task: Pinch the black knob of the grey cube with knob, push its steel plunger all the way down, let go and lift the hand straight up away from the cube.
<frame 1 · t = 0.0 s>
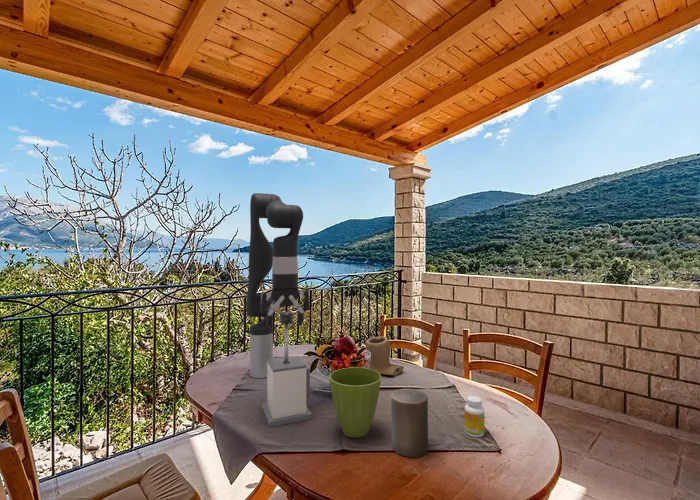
hand: (285, 326, 105), 29 cm above the table, tool pointing down, fingers open, 8 cm apart
pottery mug: (343, 384, 137), on the table
flower pot: (355, 431, 102), on the table
pillar candle: (409, 447, 94), on the table
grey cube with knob: (286, 413, 112), on the table
plunger: (286, 342, 112), point 23 cm above the table, slide at 0.0 cm
supplement bottle: (474, 433, 101), on the table
tan boot: (382, 373, 148), on the table
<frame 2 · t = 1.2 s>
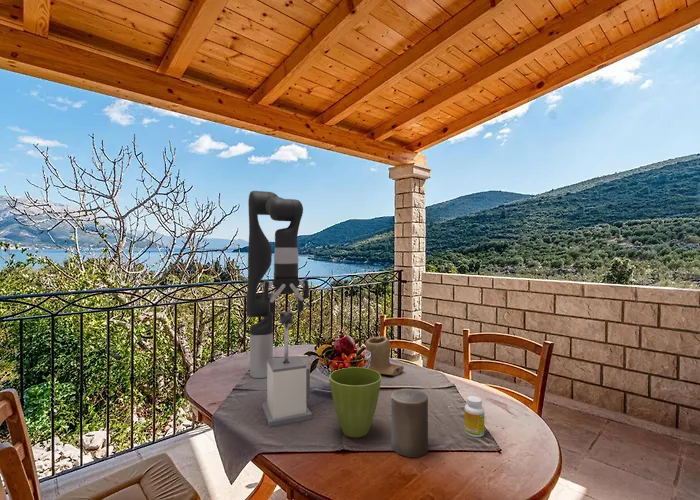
hand: (286, 313, 112), 32 cm above the table, tool pointing down, fingers open, 8 cm apart
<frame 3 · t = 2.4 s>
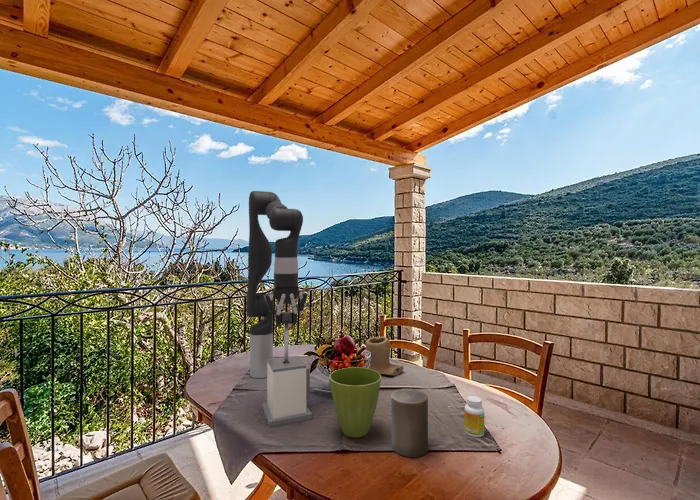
hand: (286, 325, 112), 28 cm above the table, tool pointing down, fingers closed on plunger, 4 cm apart
plunger: (286, 342, 112), point 23 cm above the table, slide at 0.0 cm, touching gripper
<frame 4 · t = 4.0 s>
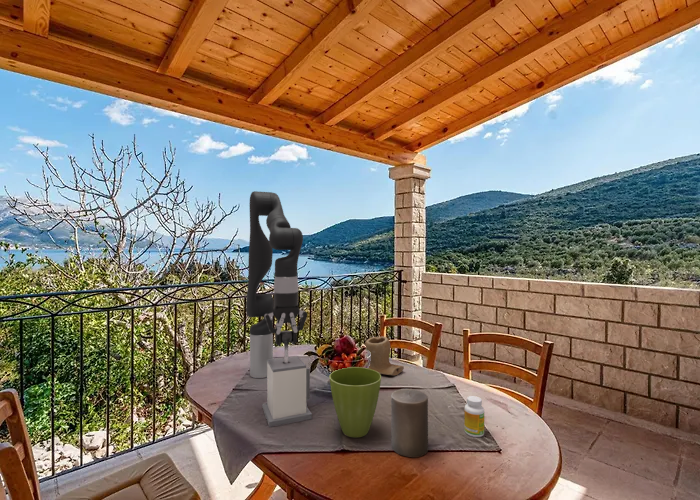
hand: (286, 344, 112), 22 cm above the table, tool pointing down, fingers closed on plunger, 4 cm apart
plunger: (286, 361, 112), point 17 cm above the table, slide at 6.0 cm, touching gripper
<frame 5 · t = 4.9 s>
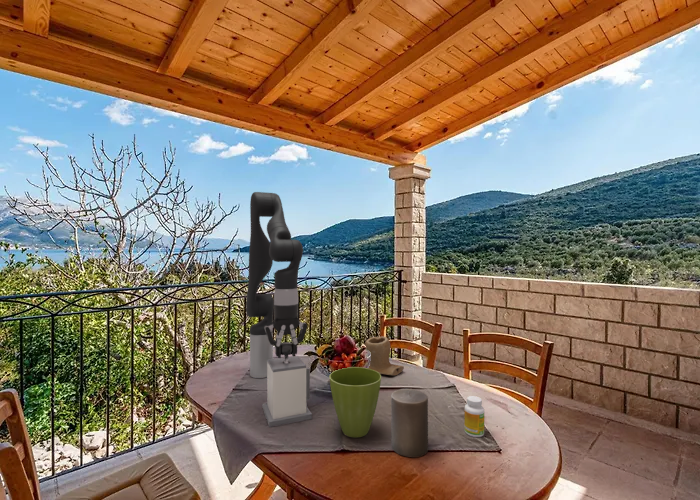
hand: (286, 356, 112), 18 cm above the table, tool pointing down, fingers closed on plunger, 4 cm apart
plunger: (286, 373, 112), point 13 cm above the table, slide at 9.8 cm, touching gripper
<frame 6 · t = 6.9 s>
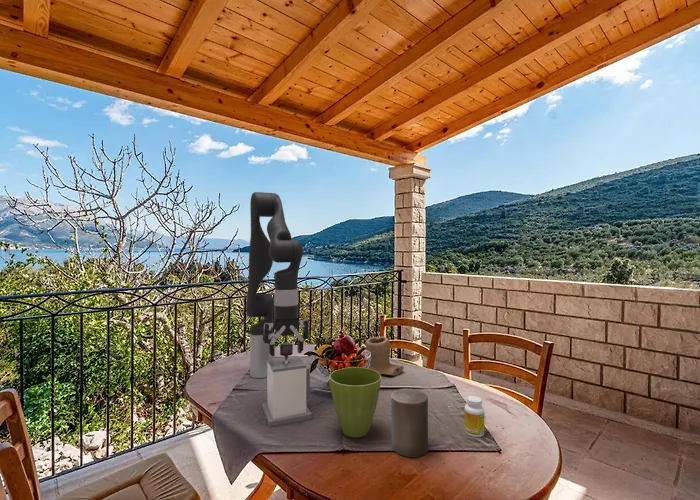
hand: (286, 354, 112), 19 cm above the table, tool pointing down, fingers open, 8 cm apart
plunger: (286, 374, 112), point 13 cm above the table, slide at 10.0 cm
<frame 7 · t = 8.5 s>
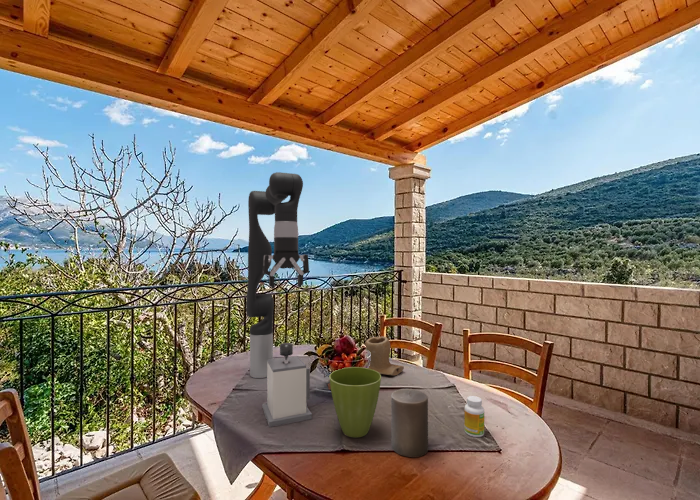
hand: (286, 287, 112), 40 cm above the table, tool pointing down, fingers open, 8 cm apart
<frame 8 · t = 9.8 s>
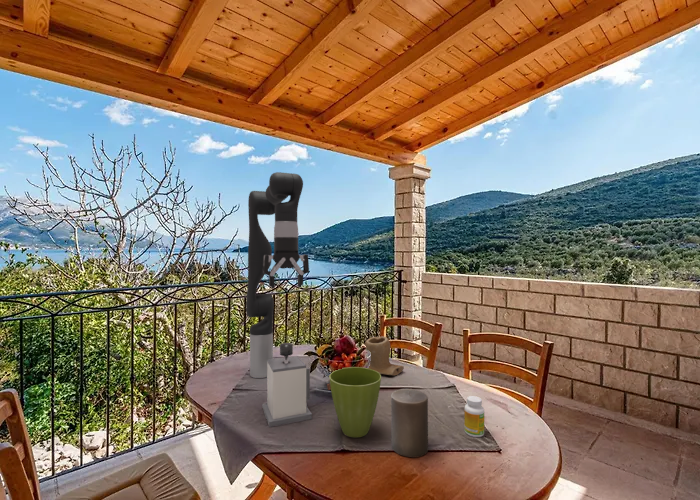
hand: (286, 287, 112), 40 cm above the table, tool pointing down, fingers open, 8 cm apart
at the end: plunger slide at 10.0 cm; the gripper is holding nothing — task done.
